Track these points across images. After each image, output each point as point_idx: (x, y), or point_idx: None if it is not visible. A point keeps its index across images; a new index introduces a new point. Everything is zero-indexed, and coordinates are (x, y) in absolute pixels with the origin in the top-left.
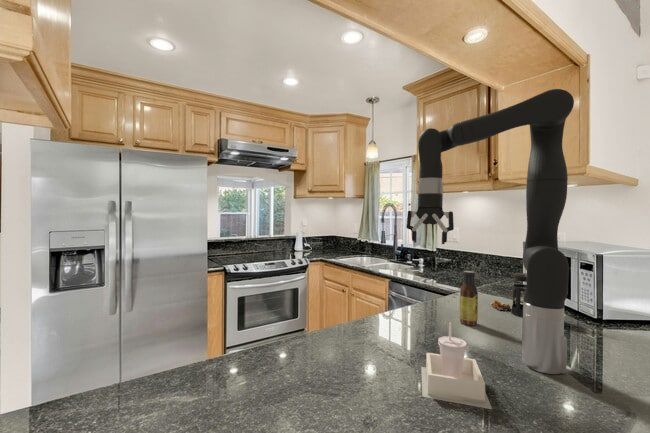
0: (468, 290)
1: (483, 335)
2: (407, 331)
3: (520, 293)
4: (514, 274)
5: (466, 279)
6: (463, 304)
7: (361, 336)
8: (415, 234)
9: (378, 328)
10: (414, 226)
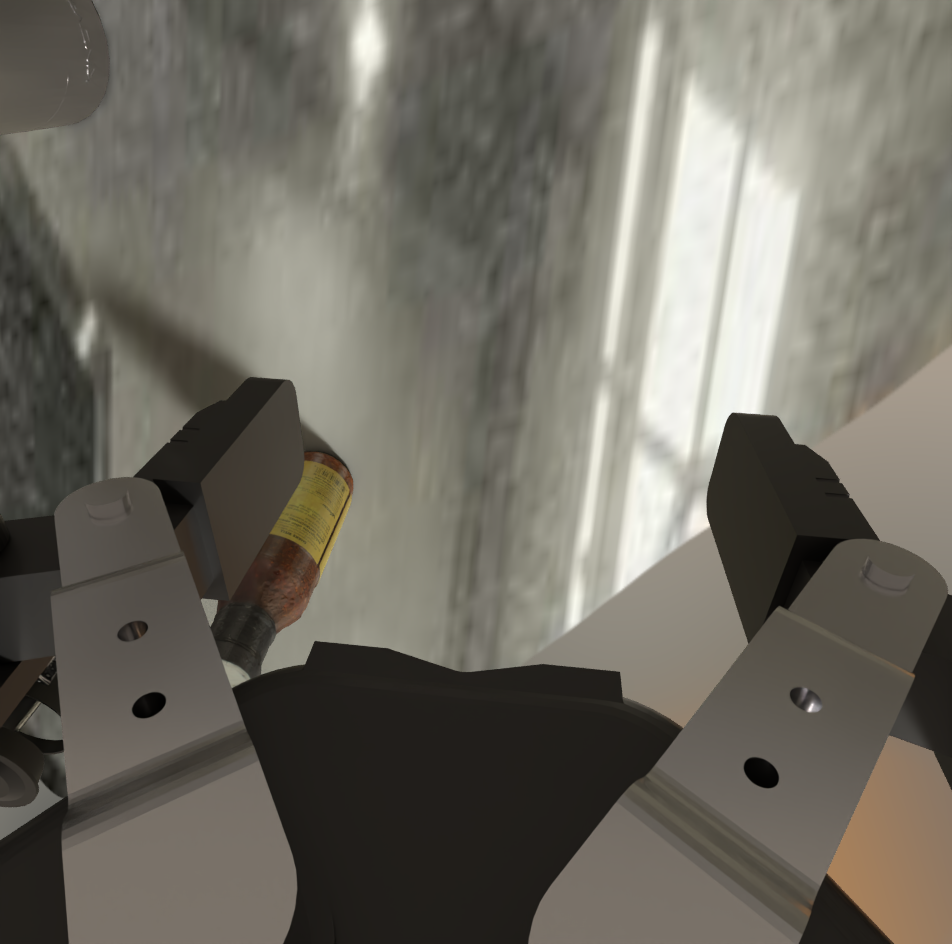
0: (262, 565)
1: (263, 350)
2: (623, 302)
3: (55, 676)
4: (27, 779)
5: (251, 627)
6: (314, 518)
7: (915, 145)
8: (797, 494)
9: (783, 301)
10: (912, 630)
